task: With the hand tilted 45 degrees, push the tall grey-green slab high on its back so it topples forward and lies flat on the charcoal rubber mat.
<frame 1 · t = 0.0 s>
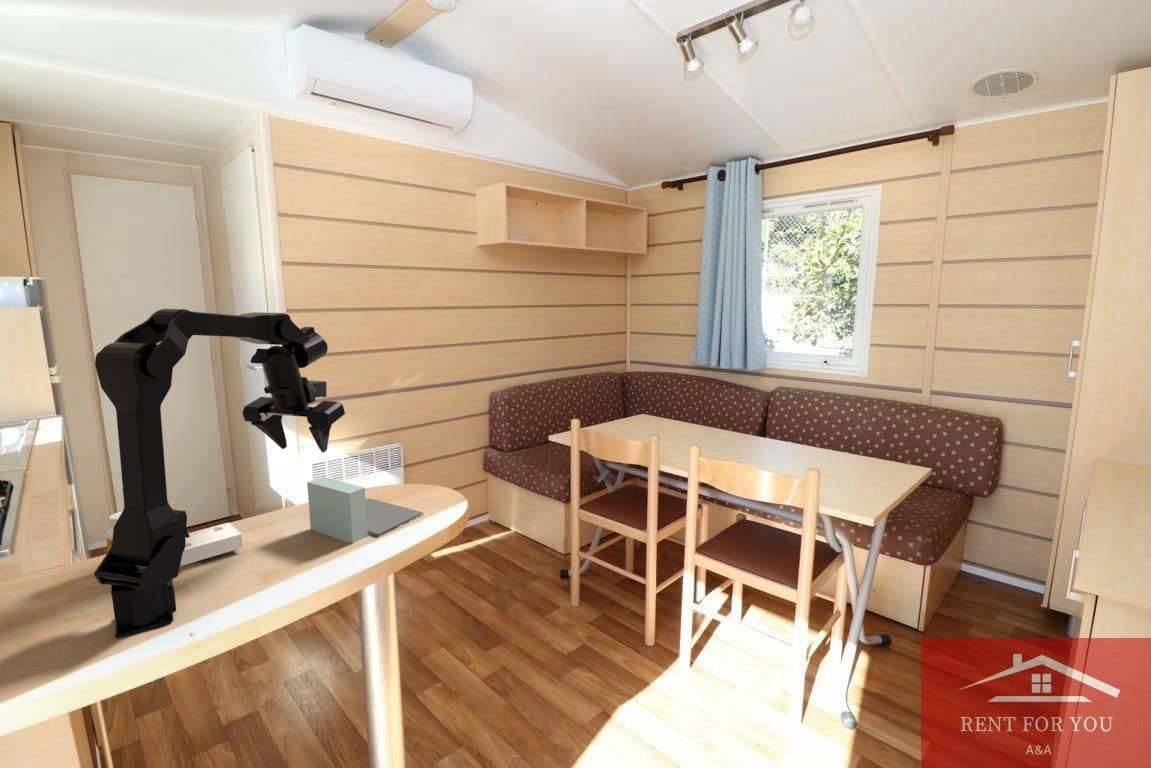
hand: (304, 449, 111), 15 cm above the breakfast bar, tool pointing down, fingers open, 9 cm apart
supplement bottle: (131, 569, 95), on the breakfast bar, touching white box
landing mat: (373, 517, 117), on the breakfast bar
white box: (195, 559, 99), on the breakfast bar, touching supplement bottle
grey-green slab: (338, 533, 109), on the breakfast bar
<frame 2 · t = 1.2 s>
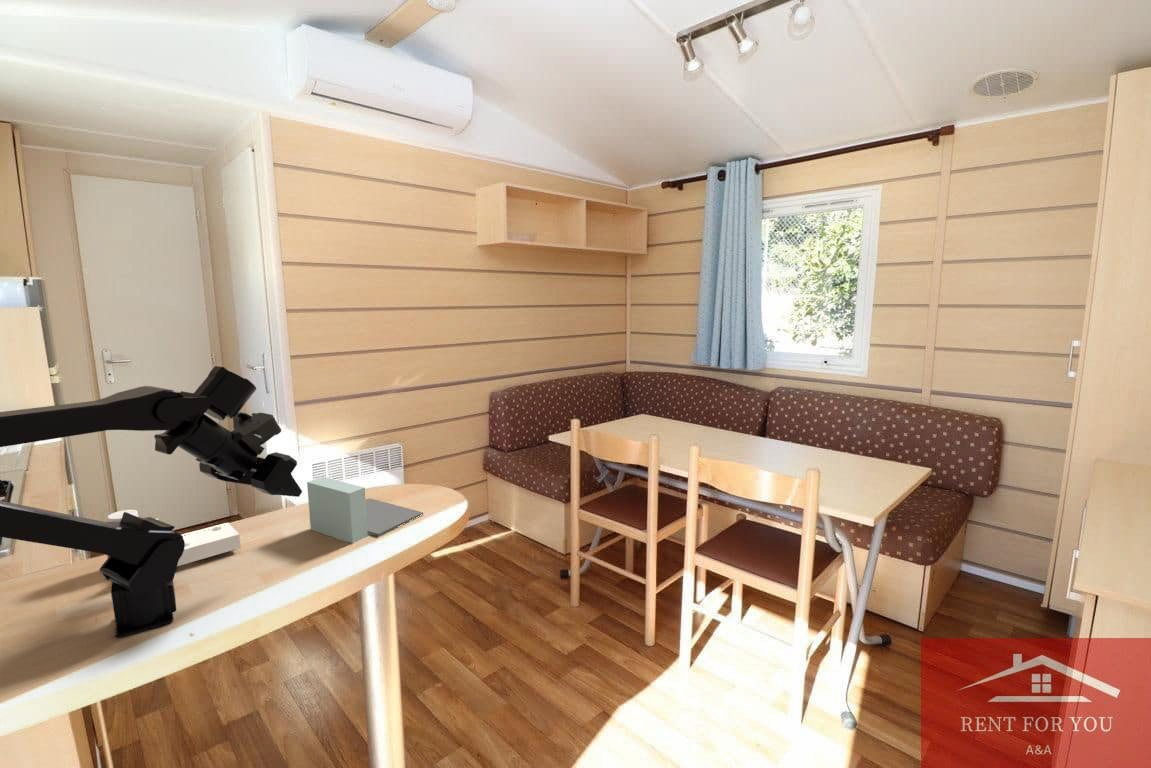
hand: (283, 489, 98), 12 cm above the breakfast bar, tool tilted 45°, fingers open, 9 cm apart
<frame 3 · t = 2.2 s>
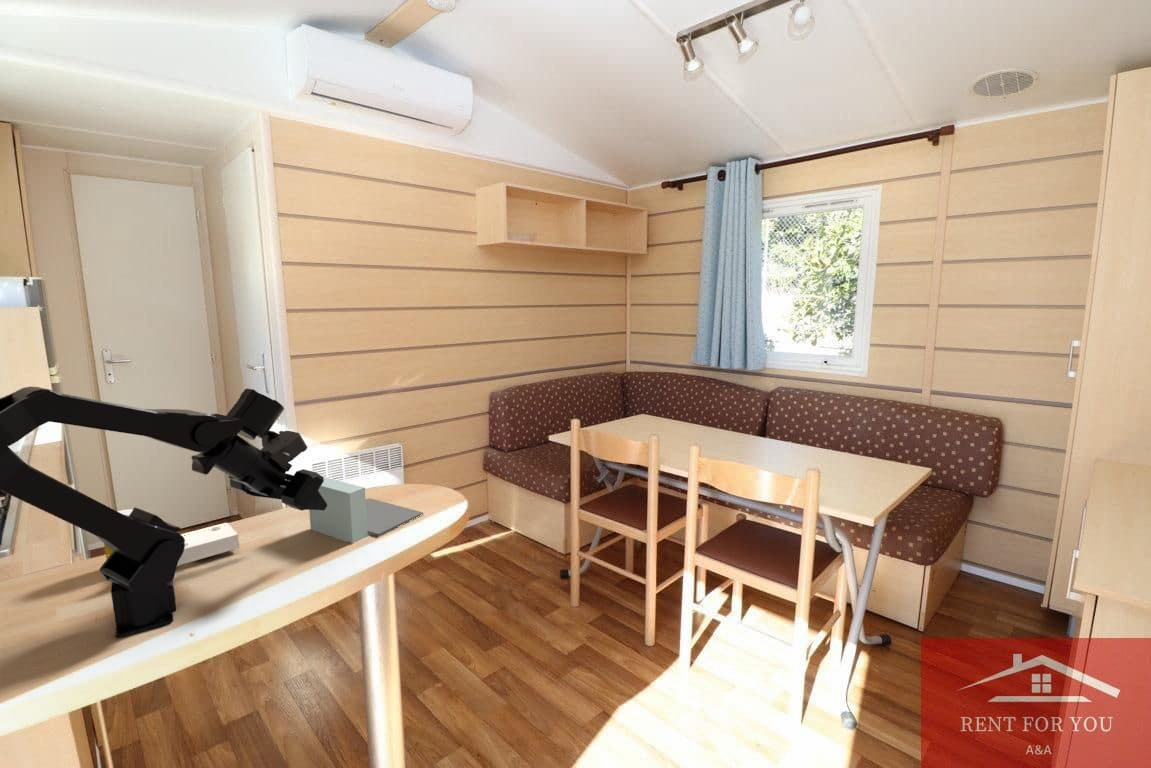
hand: (308, 502, 103), 8 cm above the breakfast bar, tool tilted 45°, fingers open, 9 cm apart
nothing on the breakfast bar moved.
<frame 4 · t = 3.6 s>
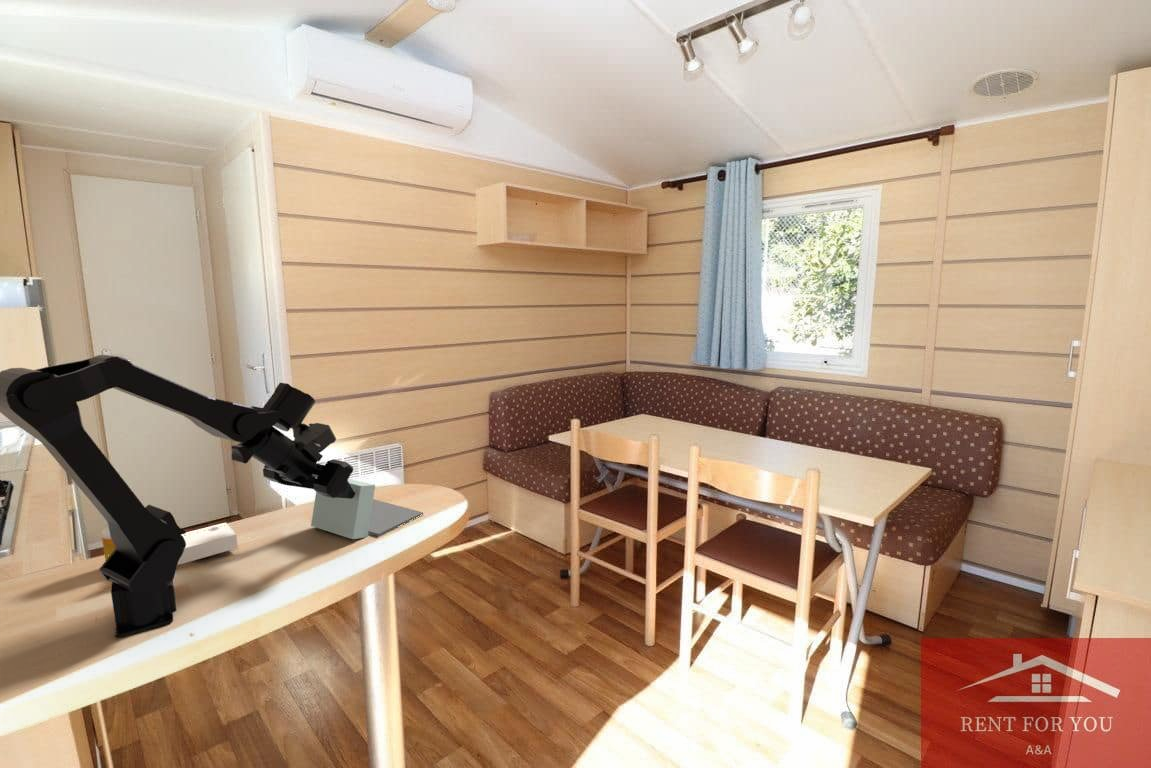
hand: (336, 491, 108), 8 cm above the breakfast bar, tool tilted 45°, fingers open, 9 cm apart
grey-green slab: (338, 531, 109), on the breakfast bar, tilted 15°
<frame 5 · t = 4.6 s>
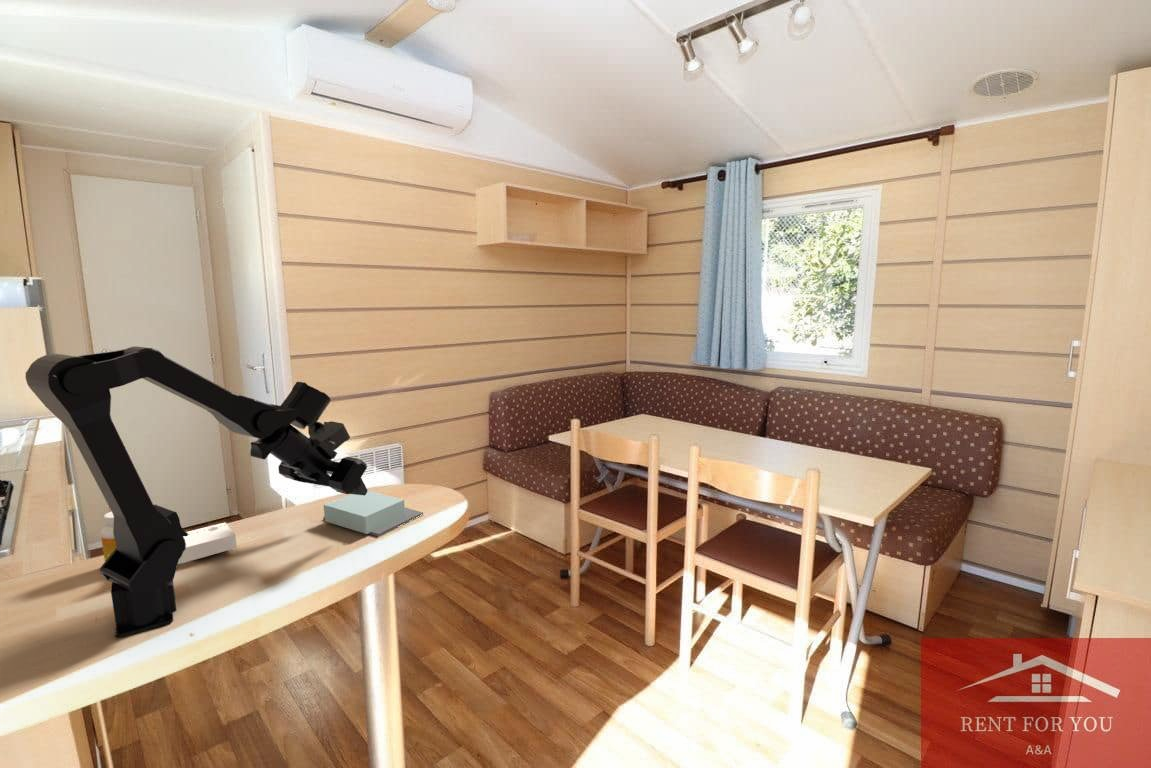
hand: (349, 488, 111), 8 cm above the breakfast bar, tool tilted 45°, fingers open, 9 cm apart
grey-green slab: (344, 519, 110), point 2 cm above the breakfast bar, tilted 90°, touching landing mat
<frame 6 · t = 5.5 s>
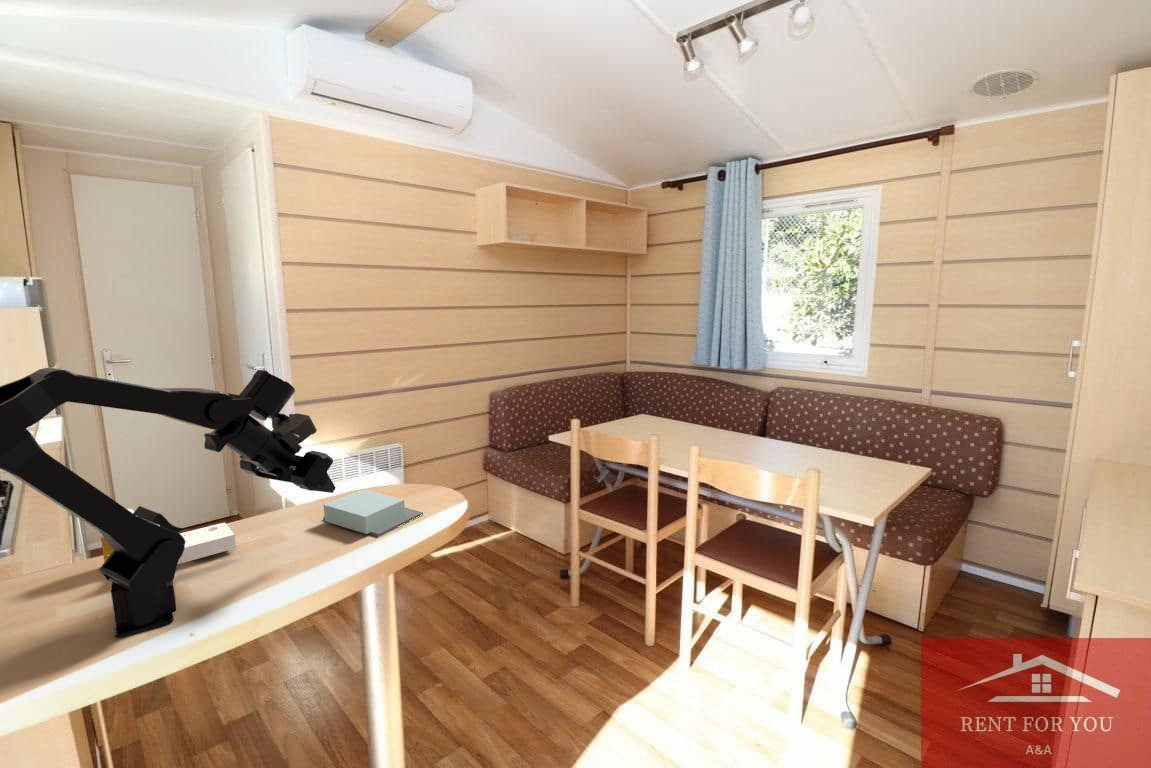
hand: (316, 485, 104), 11 cm above the breakfast bar, tool tilted 45°, fingers open, 9 cm apart
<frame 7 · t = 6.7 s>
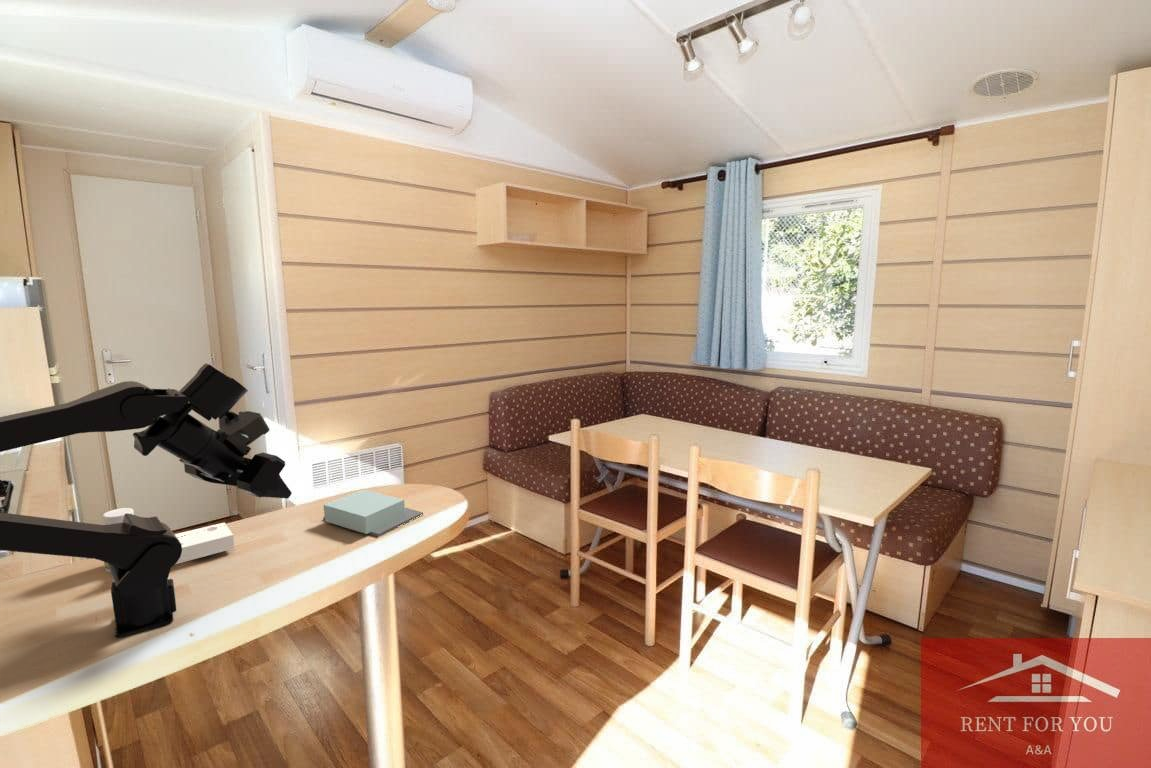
hand: (272, 490, 94), 14 cm above the breakfast bar, tool tilted 45°, fingers open, 9 cm apart
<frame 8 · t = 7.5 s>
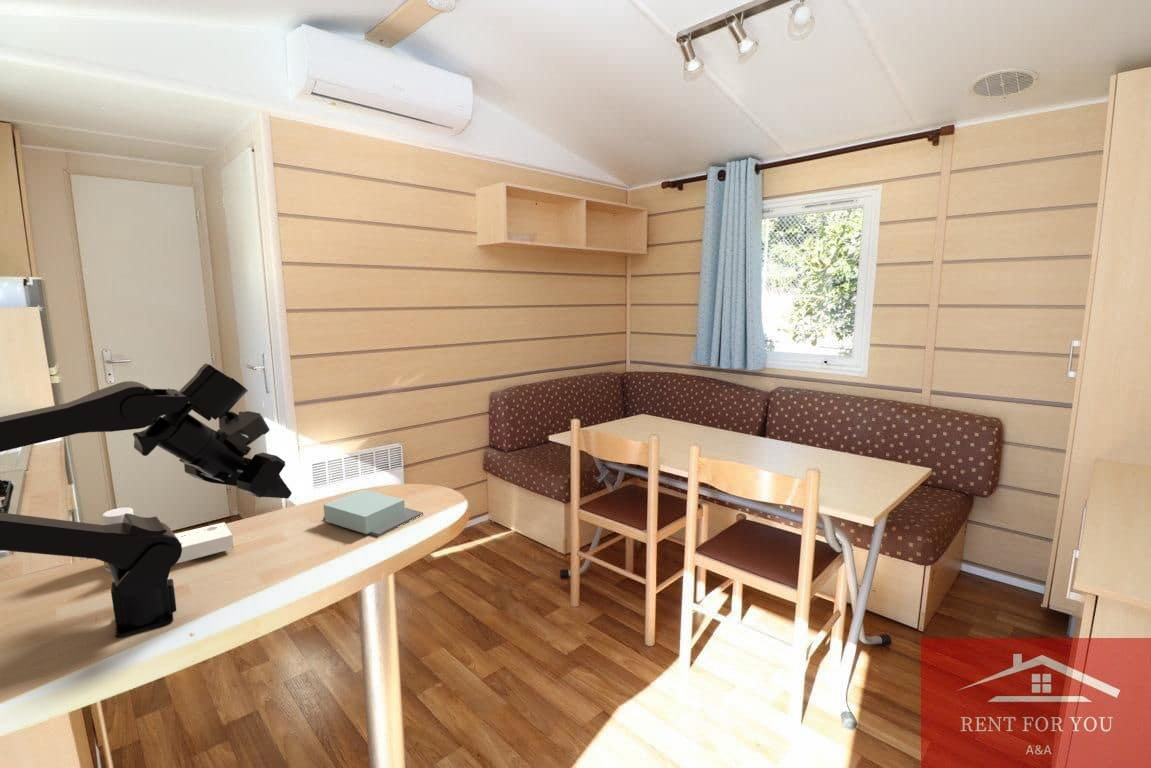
hand: (272, 490, 94), 14 cm above the breakfast bar, tool tilted 45°, fingers open, 9 cm apart
at the end: grey-green slab tilted 90°; grey-green slab touching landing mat; the gripper is holding nothing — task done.
